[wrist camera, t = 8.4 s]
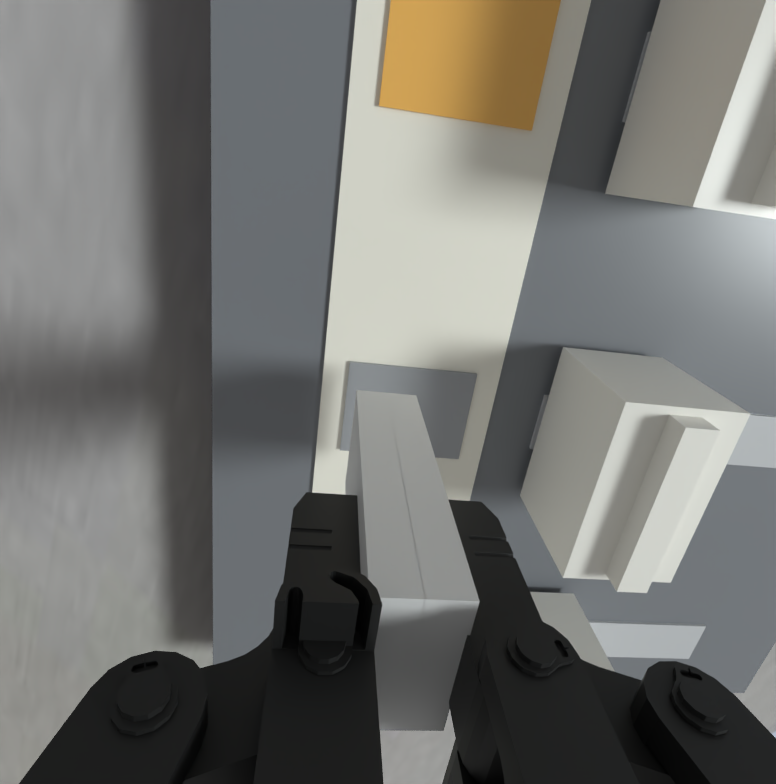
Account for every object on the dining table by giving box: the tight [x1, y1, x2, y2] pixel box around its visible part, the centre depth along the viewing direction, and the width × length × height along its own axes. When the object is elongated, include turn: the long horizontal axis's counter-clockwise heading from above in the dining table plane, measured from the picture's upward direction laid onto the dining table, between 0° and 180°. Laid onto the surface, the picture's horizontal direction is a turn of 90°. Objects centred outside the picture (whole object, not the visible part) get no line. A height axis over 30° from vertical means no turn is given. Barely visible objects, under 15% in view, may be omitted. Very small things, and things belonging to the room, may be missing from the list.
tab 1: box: [605, 0, 776, 219], centre depth 10 cm, size 3×5×4 cm, turn 172°
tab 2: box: [520, 347, 750, 593], centre depth 14 cm, size 3×5×4 cm, turn 172°
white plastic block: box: [530, 592, 615, 672], centre depth 17 cm, size 3×5×4 cm, turn 172°
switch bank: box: [210, 0, 776, 693], centre depth 17 cm, size 22×24×2 cm
